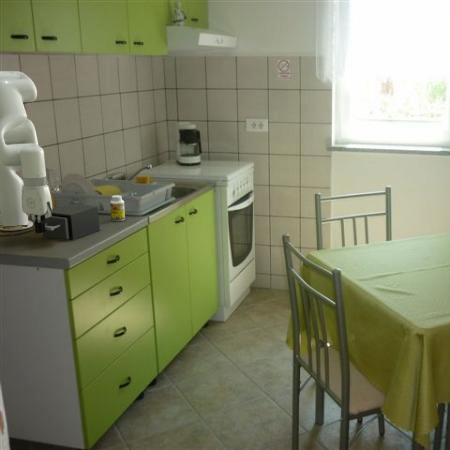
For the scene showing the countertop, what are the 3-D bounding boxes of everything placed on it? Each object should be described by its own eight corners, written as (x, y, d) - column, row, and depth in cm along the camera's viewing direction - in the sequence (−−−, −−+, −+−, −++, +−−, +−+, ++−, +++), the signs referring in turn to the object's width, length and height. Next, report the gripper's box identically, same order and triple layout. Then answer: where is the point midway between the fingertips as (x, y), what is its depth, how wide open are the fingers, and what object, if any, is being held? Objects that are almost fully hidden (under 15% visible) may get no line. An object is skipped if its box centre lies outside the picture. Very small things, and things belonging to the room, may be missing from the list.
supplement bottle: (108, 220, 243) (106, 196, 241) (118, 217, 248) (116, 194, 245) (118, 222, 241) (116, 198, 238) (128, 219, 245) (126, 195, 243)
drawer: (57, 242, 210) (55, 221, 208) (32, 239, 214) (30, 218, 211) (92, 230, 226) (90, 210, 224) (68, 227, 230) (66, 207, 228)
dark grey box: (73, 240, 216) (70, 214, 214) (46, 236, 220) (43, 211, 218) (99, 230, 229) (97, 206, 227) (74, 226, 234) (71, 203, 231)
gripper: (10, 182, 204) (16, 232, 208) (43, 185, 198) (48, 237, 203) (27, 178, 210) (32, 227, 215) (59, 181, 205) (64, 232, 210)
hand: (40, 232), depth 209 cm, fingers closed
